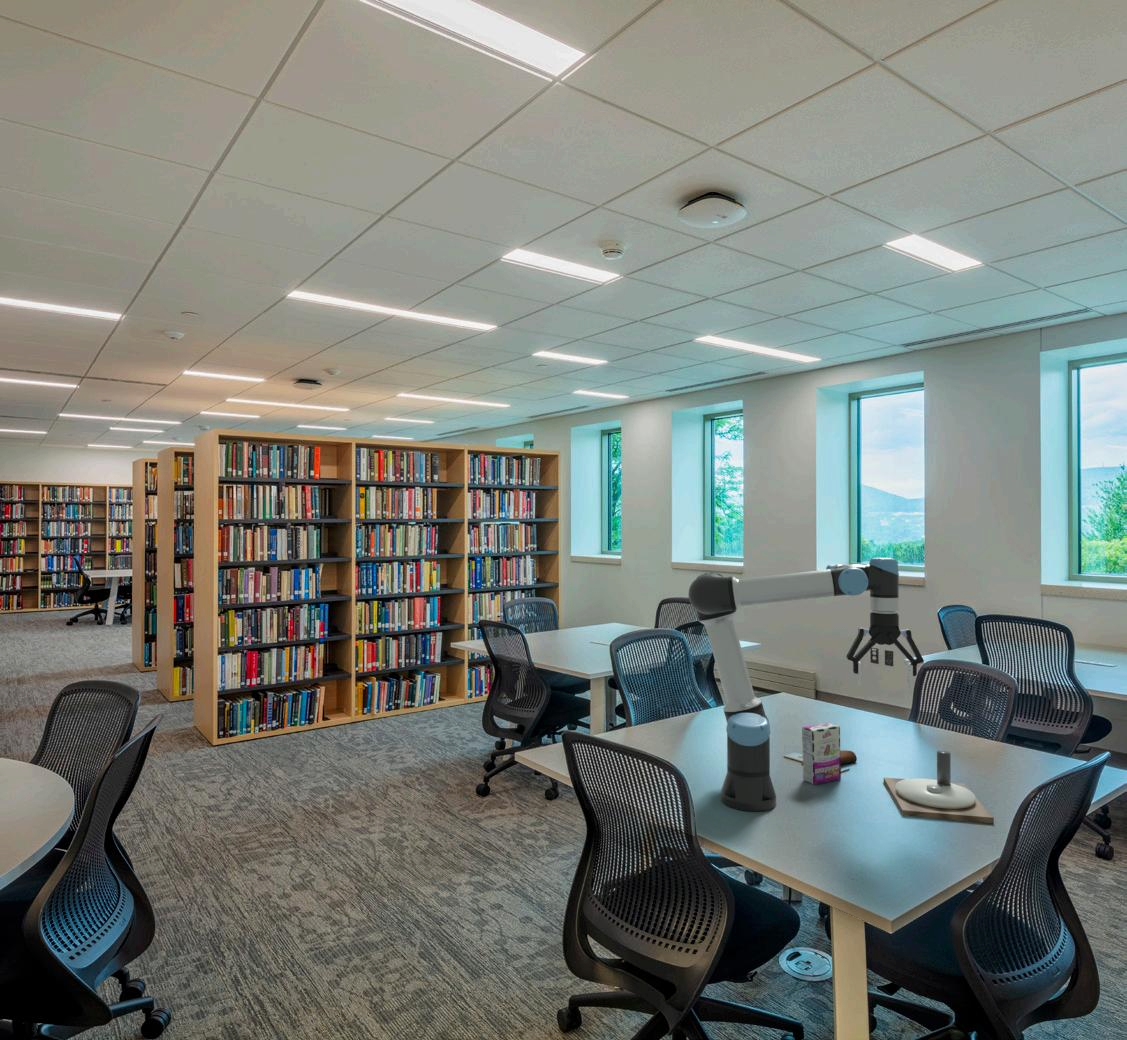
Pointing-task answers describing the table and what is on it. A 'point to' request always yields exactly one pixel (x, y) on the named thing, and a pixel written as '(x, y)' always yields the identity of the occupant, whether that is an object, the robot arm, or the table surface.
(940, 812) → the dial base
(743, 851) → the table surface
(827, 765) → the candy bar box
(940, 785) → the dial
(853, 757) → the sunglasses case
